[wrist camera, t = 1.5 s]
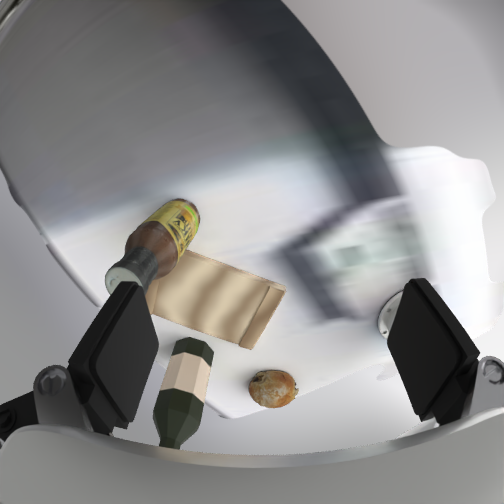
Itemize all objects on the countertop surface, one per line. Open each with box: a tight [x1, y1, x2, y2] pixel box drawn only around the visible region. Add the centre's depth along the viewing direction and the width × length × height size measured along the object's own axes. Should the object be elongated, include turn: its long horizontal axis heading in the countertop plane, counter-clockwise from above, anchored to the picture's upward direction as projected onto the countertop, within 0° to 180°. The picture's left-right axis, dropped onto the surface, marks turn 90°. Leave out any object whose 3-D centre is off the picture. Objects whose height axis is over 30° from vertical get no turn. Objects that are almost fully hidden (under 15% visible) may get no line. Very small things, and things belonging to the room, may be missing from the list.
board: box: [145, 250, 286, 350], centre depth 46 cm, size 22×14×2 cm, turn 68°
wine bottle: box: [153, 337, 214, 450], centre depth 40 cm, size 8×8×30 cm
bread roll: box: [249, 370, 299, 408], centre depth 54 cm, size 10×10×8 cm
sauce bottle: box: [105, 199, 200, 295], centre depth 32 cm, size 6×6×20 cm
